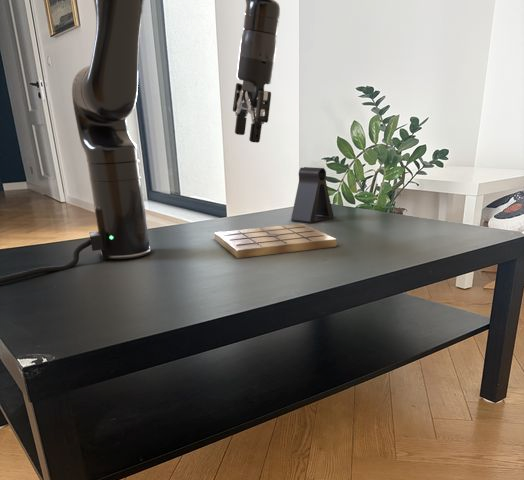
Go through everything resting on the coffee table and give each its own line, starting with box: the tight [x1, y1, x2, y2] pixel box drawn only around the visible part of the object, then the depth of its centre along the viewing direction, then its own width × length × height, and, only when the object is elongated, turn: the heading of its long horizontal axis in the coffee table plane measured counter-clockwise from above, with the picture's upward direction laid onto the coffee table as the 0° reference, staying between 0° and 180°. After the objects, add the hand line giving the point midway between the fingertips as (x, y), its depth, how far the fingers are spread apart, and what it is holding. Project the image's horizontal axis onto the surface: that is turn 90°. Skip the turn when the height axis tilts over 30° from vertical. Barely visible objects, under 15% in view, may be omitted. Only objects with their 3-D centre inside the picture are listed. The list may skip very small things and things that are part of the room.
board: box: [214, 223, 338, 259], centre depth 111 cm, size 20×18×2 cm
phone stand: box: [290, 166, 334, 224], centre depth 131 cm, size 9×6×12 cm, turn 135°
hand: (246, 138), depth 123 cm, fingers open, 8 cm apart
